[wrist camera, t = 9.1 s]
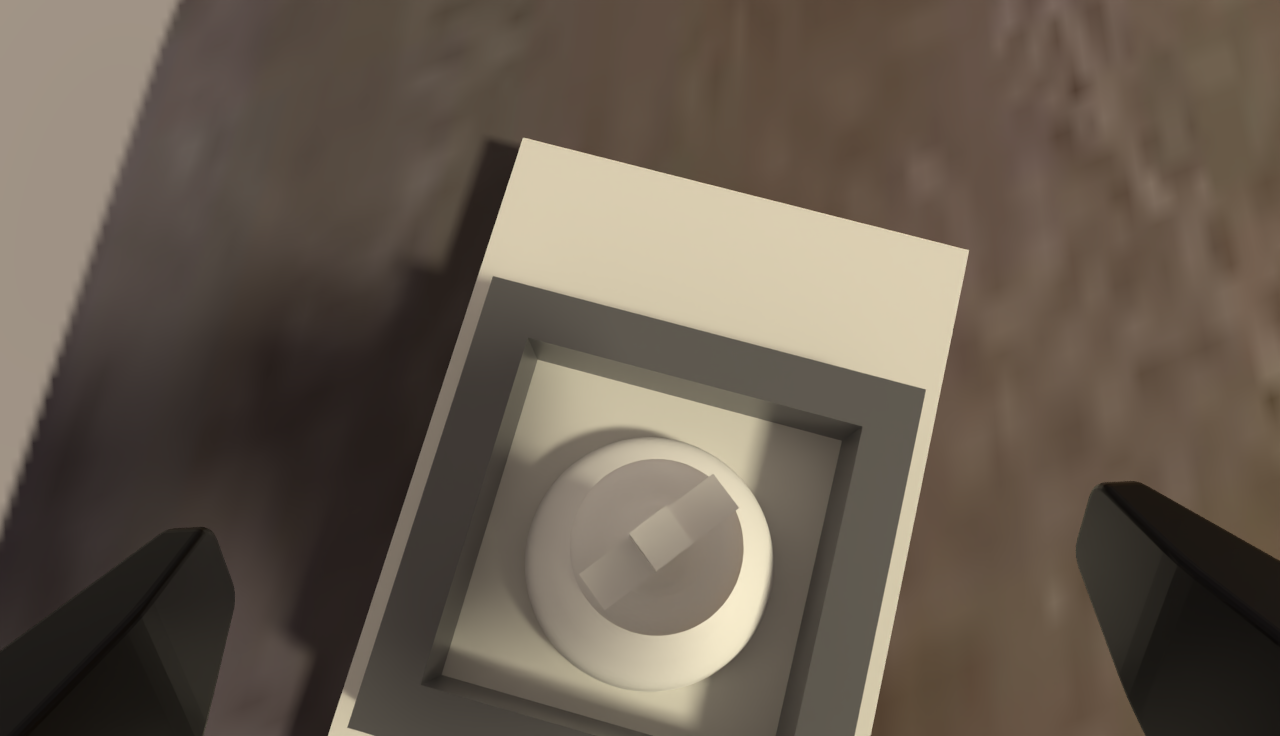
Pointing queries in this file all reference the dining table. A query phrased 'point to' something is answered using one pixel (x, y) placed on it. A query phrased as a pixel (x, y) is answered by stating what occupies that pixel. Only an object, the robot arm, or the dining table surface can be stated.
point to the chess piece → (649, 564)
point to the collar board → (674, 409)
